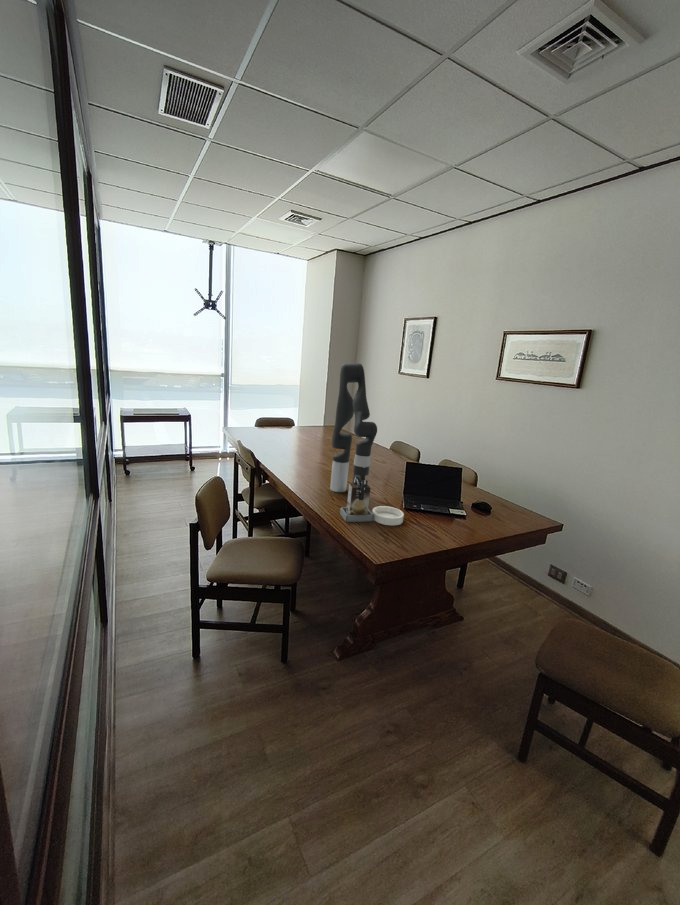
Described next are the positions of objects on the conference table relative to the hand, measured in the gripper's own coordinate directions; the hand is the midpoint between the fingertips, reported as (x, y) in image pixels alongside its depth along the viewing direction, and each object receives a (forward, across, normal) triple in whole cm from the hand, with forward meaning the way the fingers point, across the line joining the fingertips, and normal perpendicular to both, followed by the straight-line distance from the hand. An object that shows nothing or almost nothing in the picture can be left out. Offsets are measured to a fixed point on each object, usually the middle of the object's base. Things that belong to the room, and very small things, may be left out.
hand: (358, 496), depth 190 cm
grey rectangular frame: (+10, 0, 0) cm, 10 cm away
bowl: (+10, +3, +15) cm, 19 cm away
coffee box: (+11, 0, 0) cm, 11 cm away
